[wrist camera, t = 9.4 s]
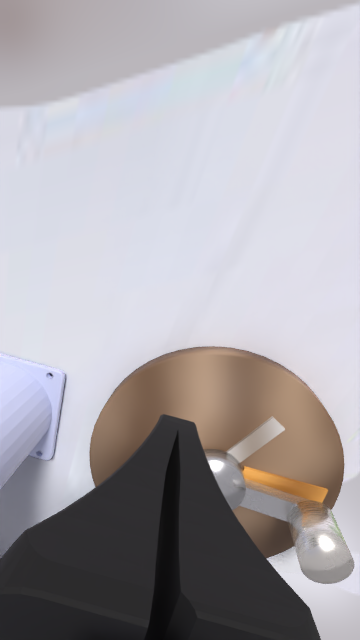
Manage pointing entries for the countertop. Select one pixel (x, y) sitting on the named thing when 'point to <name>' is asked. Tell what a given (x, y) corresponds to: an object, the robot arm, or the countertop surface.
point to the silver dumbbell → (288, 519)
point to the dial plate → (230, 426)
